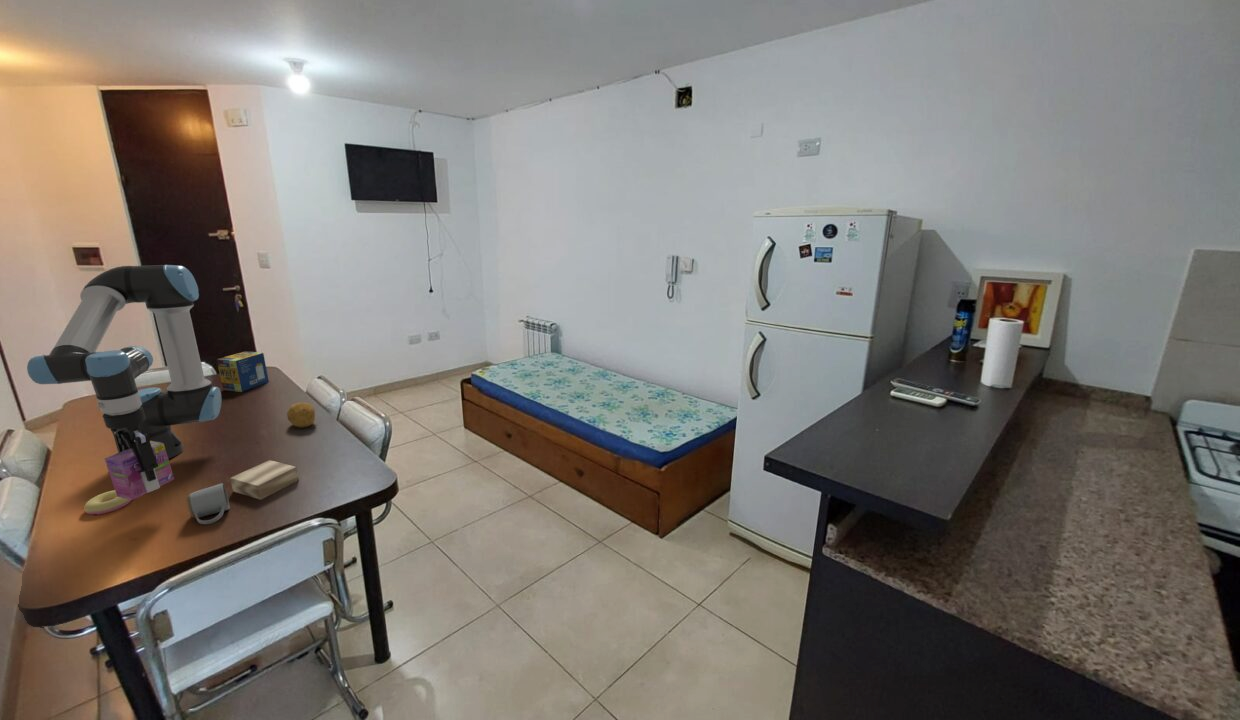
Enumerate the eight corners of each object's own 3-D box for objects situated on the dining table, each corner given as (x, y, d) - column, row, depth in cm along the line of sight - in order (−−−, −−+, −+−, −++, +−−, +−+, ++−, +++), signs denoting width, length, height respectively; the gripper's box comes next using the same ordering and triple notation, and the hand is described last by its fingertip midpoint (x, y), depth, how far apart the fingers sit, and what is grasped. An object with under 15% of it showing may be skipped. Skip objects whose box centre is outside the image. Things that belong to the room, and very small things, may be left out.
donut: (142, 504, 142) (113, 498, 143) (143, 490, 142) (114, 484, 142) (104, 520, 132) (73, 513, 133) (104, 504, 132) (73, 497, 132)
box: (133, 500, 127) (120, 460, 123) (116, 497, 128) (103, 458, 124) (175, 479, 137) (164, 442, 133) (159, 477, 138) (148, 440, 134)
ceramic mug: (192, 511, 136) (186, 487, 134) (229, 501, 141) (223, 478, 139) (192, 530, 128) (185, 505, 126) (230, 519, 133) (225, 495, 131)
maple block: (233, 492, 146) (230, 477, 145) (272, 473, 157) (269, 460, 156) (260, 500, 142) (257, 485, 141) (299, 480, 153) (296, 466, 152)
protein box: (222, 390, 227) (215, 359, 223) (251, 380, 242) (245, 350, 238) (241, 392, 226) (235, 360, 221) (269, 381, 240) (263, 352, 236)
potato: (287, 411, 182) (315, 403, 188) (281, 403, 192) (307, 396, 198) (294, 434, 185) (321, 425, 191) (288, 424, 195) (314, 416, 200)
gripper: (84, 407, 125) (110, 484, 133) (122, 423, 118) (147, 503, 125) (122, 398, 132) (145, 471, 139) (160, 412, 125) (182, 488, 132)
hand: (146, 486), depth 132 cm, fingers closed on box, 6 cm apart
